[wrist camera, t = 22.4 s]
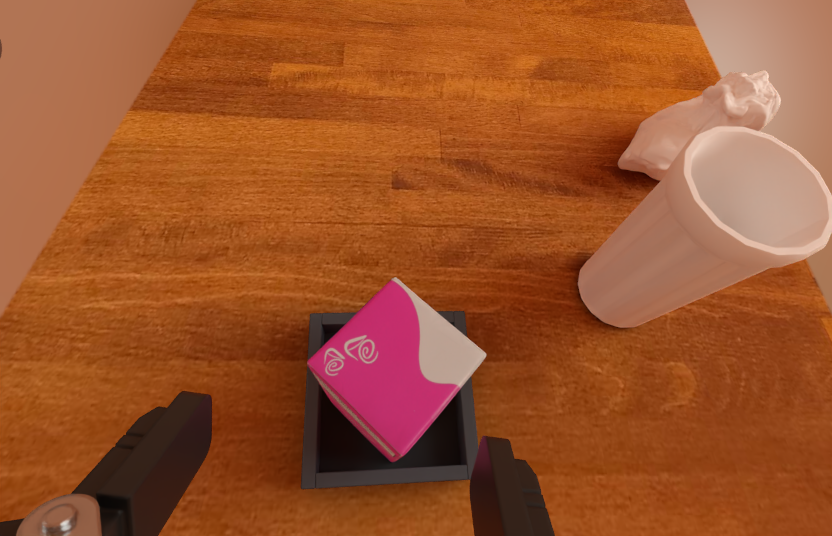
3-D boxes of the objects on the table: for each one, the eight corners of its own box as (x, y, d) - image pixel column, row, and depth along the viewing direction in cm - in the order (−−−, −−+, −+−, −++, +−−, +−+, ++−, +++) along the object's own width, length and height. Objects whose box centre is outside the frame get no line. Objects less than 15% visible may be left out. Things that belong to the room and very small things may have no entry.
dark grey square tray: (306, 487, 27) (300, 489, 25) (314, 324, 31) (309, 313, 29) (472, 478, 28) (481, 478, 26) (457, 322, 32) (464, 310, 30)
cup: (583, 230, 37) (699, 100, 24) (674, 276, 36) (846, 167, 23) (549, 307, 34) (662, 206, 21) (648, 361, 33) (832, 289, 20)
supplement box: (387, 337, 31) (397, 270, 20) (451, 396, 30) (496, 357, 19) (326, 400, 29) (302, 361, 18) (392, 466, 27) (407, 465, 17)
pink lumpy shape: (609, 205, 41) (743, 205, 31) (585, 128, 38) (723, 101, 29) (684, 149, 45) (824, 133, 35) (667, 76, 42) (813, 36, 32)
